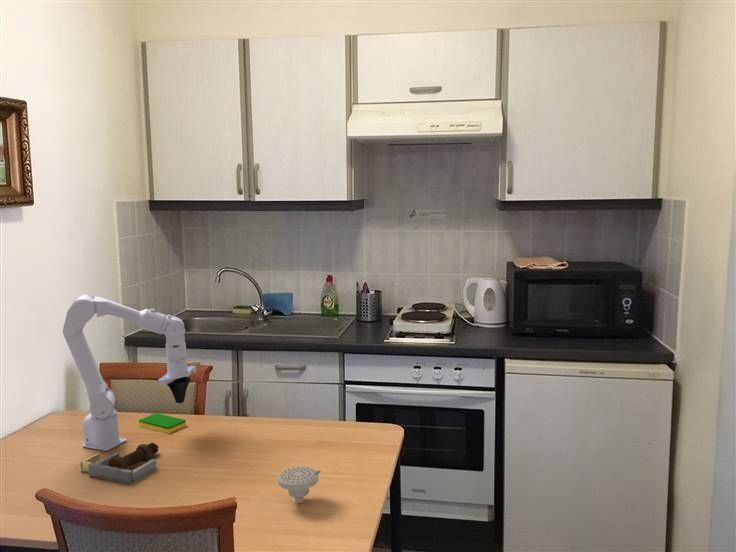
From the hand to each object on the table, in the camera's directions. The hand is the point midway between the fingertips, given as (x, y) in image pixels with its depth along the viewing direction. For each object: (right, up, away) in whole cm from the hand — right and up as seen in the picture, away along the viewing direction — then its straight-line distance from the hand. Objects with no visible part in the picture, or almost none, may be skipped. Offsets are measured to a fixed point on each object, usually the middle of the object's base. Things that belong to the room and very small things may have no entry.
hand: (179, 402), depth 195 cm
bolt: (-6, -14, -19) cm, 24 cm away
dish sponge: (-8, -10, +9) cm, 15 cm away
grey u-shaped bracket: (-8, -14, -24) cm, 28 cm away
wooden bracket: (-16, -14, -20) cm, 29 cm away
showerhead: (+40, -15, -42) cm, 60 cm away
